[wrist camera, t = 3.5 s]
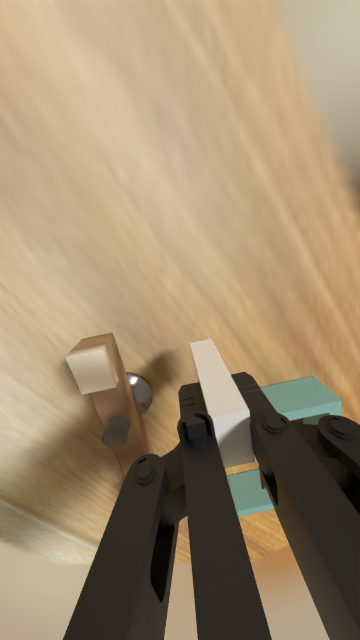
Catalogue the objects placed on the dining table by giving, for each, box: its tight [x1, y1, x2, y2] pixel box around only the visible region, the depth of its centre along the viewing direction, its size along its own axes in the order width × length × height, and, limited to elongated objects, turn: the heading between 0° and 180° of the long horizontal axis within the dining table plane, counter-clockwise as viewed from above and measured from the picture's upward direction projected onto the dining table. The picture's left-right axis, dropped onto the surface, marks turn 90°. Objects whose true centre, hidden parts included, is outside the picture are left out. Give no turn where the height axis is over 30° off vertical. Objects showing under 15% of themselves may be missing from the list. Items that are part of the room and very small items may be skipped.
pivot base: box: [126, 372, 152, 415], centre depth 19 cm, size 5×5×1 cm
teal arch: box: [227, 376, 342, 517], centre depth 21 cm, size 13×10×4 cm
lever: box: [65, 333, 154, 477], centre depth 18 cm, size 20×2×4 cm, turn 11°
